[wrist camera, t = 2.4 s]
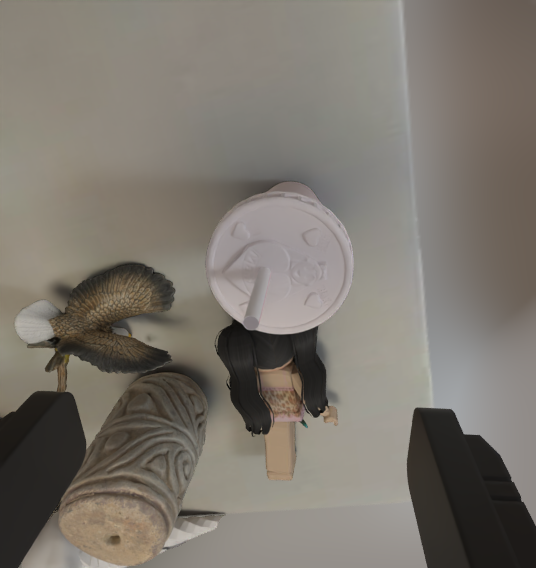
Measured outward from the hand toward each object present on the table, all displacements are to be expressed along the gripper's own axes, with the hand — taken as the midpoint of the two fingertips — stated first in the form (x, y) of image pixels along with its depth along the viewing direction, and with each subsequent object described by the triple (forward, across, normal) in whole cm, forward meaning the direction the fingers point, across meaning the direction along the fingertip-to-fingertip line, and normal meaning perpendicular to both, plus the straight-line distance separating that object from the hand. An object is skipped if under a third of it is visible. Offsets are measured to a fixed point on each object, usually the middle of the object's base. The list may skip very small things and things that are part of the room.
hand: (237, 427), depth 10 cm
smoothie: (+19, 0, 0) cm, 19 cm away
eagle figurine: (+19, +12, +7) cm, 24 cm away
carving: (+19, +9, +14) cm, 26 cm away
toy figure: (+19, 0, +12) cm, 23 cm away
